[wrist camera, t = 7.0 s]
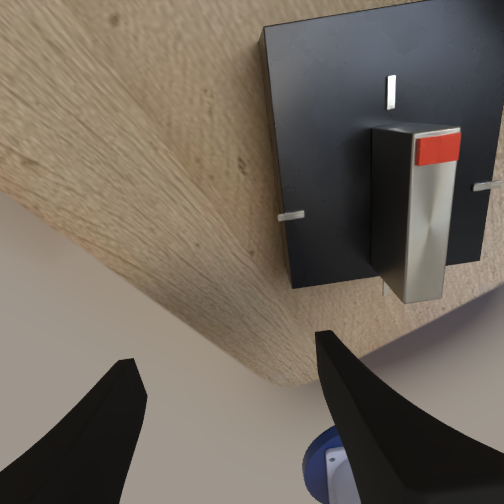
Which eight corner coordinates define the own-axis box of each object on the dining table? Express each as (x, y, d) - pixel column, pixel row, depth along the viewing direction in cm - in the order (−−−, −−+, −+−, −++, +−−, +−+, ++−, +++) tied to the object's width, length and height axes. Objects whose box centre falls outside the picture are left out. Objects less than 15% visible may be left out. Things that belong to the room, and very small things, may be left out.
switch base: (452, 259, 22) (484, 281, 19) (281, 285, 22) (289, 311, 19) (481, 4, 16) (534, -19, 14) (251, 41, 17) (255, 26, 14)
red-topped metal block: (401, 261, 19) (445, 302, 15) (370, 266, 19) (406, 307, 15) (408, 121, 16) (466, 125, 12) (371, 127, 16) (416, 133, 12)
